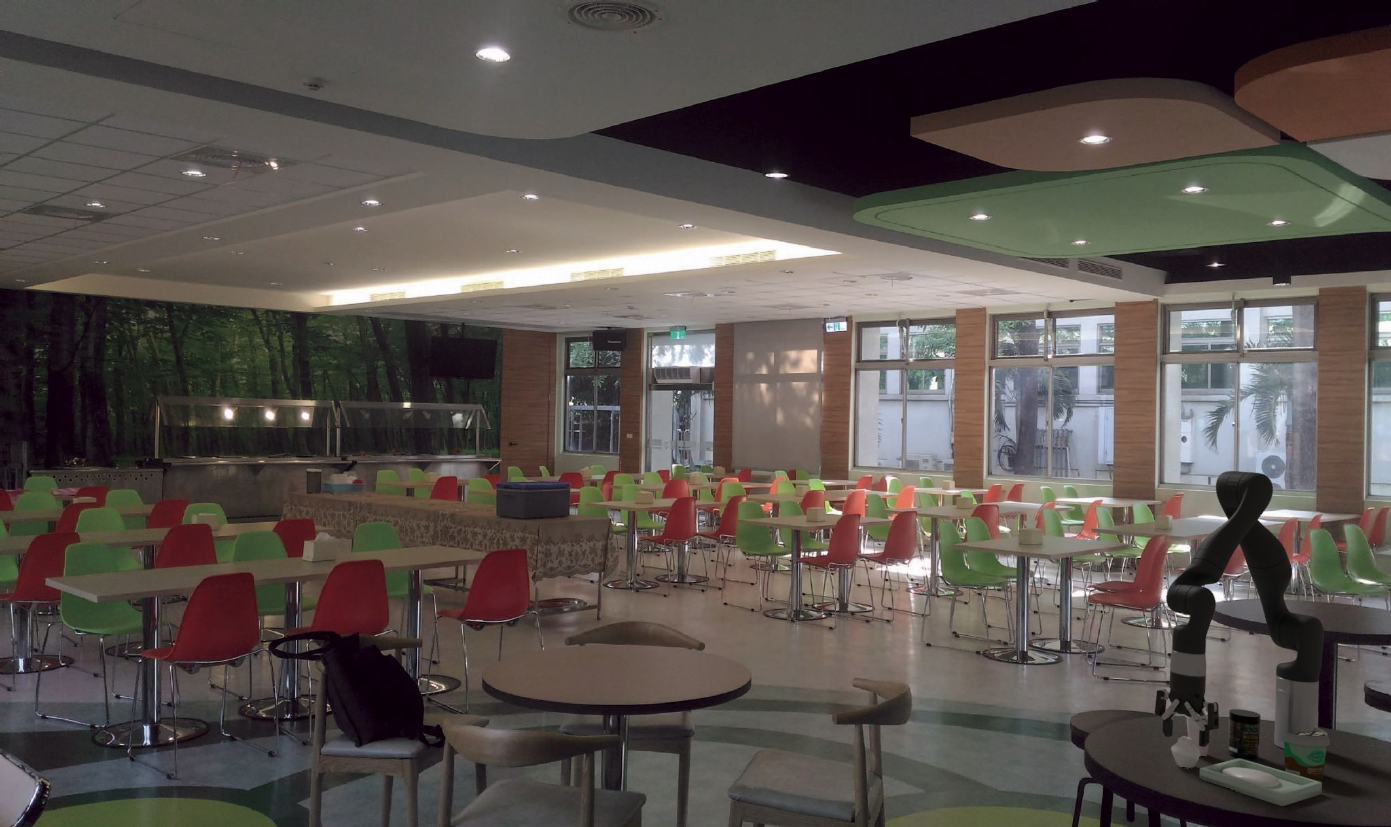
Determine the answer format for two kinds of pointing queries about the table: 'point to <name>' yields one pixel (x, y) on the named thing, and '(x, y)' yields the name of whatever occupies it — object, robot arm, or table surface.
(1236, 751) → the supplement container
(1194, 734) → the smoothie
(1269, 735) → the table surface
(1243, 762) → the tray
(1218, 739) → the table surface
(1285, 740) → the food container
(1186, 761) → the muffin
